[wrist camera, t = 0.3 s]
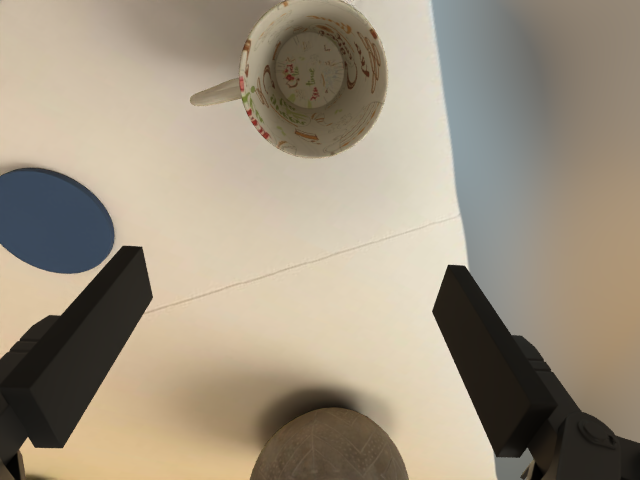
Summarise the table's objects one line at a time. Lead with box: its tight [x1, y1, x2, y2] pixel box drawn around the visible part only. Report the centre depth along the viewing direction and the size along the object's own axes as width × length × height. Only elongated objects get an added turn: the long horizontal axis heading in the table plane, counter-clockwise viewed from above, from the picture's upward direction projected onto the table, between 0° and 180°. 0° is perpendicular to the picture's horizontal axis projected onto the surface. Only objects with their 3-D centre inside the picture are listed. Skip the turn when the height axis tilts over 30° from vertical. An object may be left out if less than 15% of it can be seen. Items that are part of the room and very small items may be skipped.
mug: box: [190, 0, 388, 158], centre depth 23 cm, size 8×13×10 cm, turn 102°
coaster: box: [0, 168, 114, 274], centre depth 33 cm, size 11×11×1 cm
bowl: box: [250, 407, 409, 480], centre depth 46 cm, size 21×21×15 cm
